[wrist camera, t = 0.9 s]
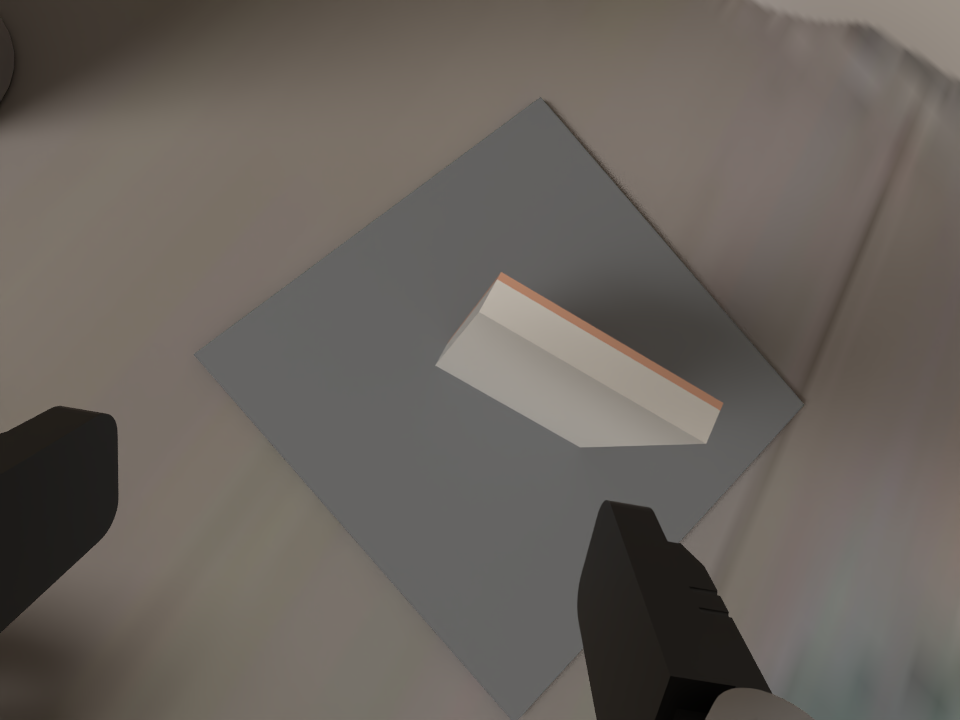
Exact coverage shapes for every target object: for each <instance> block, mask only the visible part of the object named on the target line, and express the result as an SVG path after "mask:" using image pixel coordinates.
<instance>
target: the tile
mask: <svg viewBox="0 0 960 720" xmlns="http://www.w3.org/2000/svg"><path fill="white" fill-rule="evenodd" d="M435 366H437V367H439V368H441V369H442V370H444V371H446V372H448V373H449V374H451V375H453V376H455V377H457V378H458V379H460V380H462V381H464V382H465V383H467V384H469V385H471V386H472V387H474V388H476V389H478V390H479V391H481V392H483V393H485V394H487V395H488V396H490V397H492V398H494V399H495V400H497V401H499V402H501V403H502V404H504V405H506V406H508V407H510V408H511V409H513V410H515V411H517V412H518V413H520V414H522V415H524V416H525V417H527V418H529V419H531V420H533V421H534V422H536V423H538V424H540V425H541V426H543V427H545V428H547V429H548V430H550V431H552V432H554V433H555V434H557V435H559V436H561V437H563V438H564V439H566V440H568V441H570V442H571V443H573V444H575V445H577V446H578V447H614V446H648V445H682V444H706V443H707V441H708V438H709V436H710V434H711V431H712V429H713V427H714V424H715V422H716V419H717V417H718V415H719V412H720V410H721V408H722V405H723V402H721V401H719V400H717V399H716V398H714V397H712V396H711V395H709V394H707V393H706V392H704V391H702V390H700V389H699V388H697V387H695V386H694V385H692V384H690V383H689V382H687V381H685V380H684V379H682V378H680V377H678V376H677V375H675V374H673V373H672V372H670V371H668V370H667V369H665V368H663V367H662V366H660V365H658V364H656V363H655V362H653V361H651V360H650V359H648V358H646V357H645V356H643V355H641V354H639V353H638V352H636V351H634V350H633V349H631V348H629V347H628V346H626V345H624V344H623V343H621V342H619V341H617V340H616V339H614V338H612V337H611V336H609V335H607V334H606V333H604V332H602V331H601V330H599V329H597V328H595V327H594V326H592V325H590V324H589V323H587V322H585V321H584V320H582V319H580V318H578V317H577V316H575V315H573V314H572V313H570V312H568V311H567V310H565V309H563V308H562V307H560V306H558V305H556V304H555V303H553V302H551V301H550V300H548V299H546V298H545V297H543V296H541V295H540V294H538V293H536V292H534V291H533V290H531V289H529V288H528V287H526V286H524V285H523V284H521V283H519V282H517V281H516V280H514V279H512V278H511V277H509V276H507V275H506V274H504V273H502V272H501V273H500V274H499V275H498V277H497V278H496V279H495V281H494V282H493V283H492V285H491V286H490V287H489V289H488V290H487V291H486V293H485V294H484V295H483V296H482V298H481V299H480V300H479V302H478V303H477V304H476V306H475V307H474V308H473V310H472V311H471V312H470V314H469V315H468V316H467V318H466V319H465V320H464V321H463V323H462V324H461V325H460V327H459V328H458V329H457V331H456V332H455V333H454V335H453V336H452V337H451V339H450V340H449V342H448V344H447V345H446V347H445V349H444V351H443V352H442V354H441V356H440V358H439V360H438V361H437V363H436V365H435Z"/></svg>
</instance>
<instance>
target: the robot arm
mask: <svg viewBox="0 0 960 720" xmlns="http://www.w3.org/2000/svg"><path fill="white" fill-rule="evenodd" d="M13 70H14V49H13V45H12V41H11V37H10V34H9V32H8V30H7V28H6V26H5V24H4V23H3V21H2V19H1V17H0V101H1V100H2V98H3V96H4V94H5V93H6V91H7V89H8V87H9V85H10V81H11V78H12V74H13ZM117 506H118V435H117V425H116V422H115V420H114V418H113V417H112V416H111V415H109V414H105V413H99V412H93V411H87V410H82V409H76V408H70V407H64V406H56V407H53V408H51V409H49V410H47V411H45V412H43V413H41V414H39V415H37V416H36V417H34V418H32V419H30V420H28V421H26V422H24V423H22V424H20V425H19V426H17V427H15V428H13V429H11V430H9V431H7V432H4V433H1V434H0V633H1V632H2V631H3V630H4V629H5V628H6V627H7V626H8V625H9V624H10V623H11V622H12V621H14V620H15V619H16V618H17V617H18V616H19V615H20V614H21V613H22V612H23V611H24V610H25V609H26V608H28V607H29V606H30V605H31V604H32V603H33V602H34V601H35V600H36V599H37V598H38V597H39V596H41V595H42V594H43V593H44V592H45V591H46V590H47V589H48V588H49V587H50V586H51V585H52V584H53V583H55V582H56V581H57V580H58V579H59V578H60V577H61V576H62V575H63V574H64V573H65V572H66V571H67V570H69V569H70V568H71V567H72V566H73V565H74V564H75V563H76V562H77V561H78V560H79V559H80V558H81V557H83V556H84V555H85V554H86V553H87V552H88V551H89V550H90V549H91V548H92V547H93V546H94V545H95V544H97V543H98V542H99V541H100V540H101V539H102V538H103V537H104V535H105V534H106V533H107V531H108V529H109V528H110V526H111V524H112V522H113V520H114V517H115V514H116V511H117ZM728 613H729V612H728V610H727V608H726V606H725V604H724V602H723V600H722V599H721V597H720V596H717V589H716V587H715V585H714V584H713V582H712V580H711V578H710V576H709V574H708V572H707V570H706V569H705V567H704V566H703V565H702V564H701V563H700V562H699V561H698V560H697V559H696V558H695V557H694V556H693V555H692V554H691V553H690V552H689V551H688V550H687V549H686V548H685V547H684V546H683V545H682V544H681V543H675V542H669V541H667V539H666V537H665V534H664V532H663V530H662V528H661V526H660V524H659V522H658V520H657V517H656V515H655V513H654V511H653V510H652V509H651V508H650V507H645V506H639V505H633V504H627V503H622V502H616V501H610V500H605V501H604V502H603V503H602V504H601V506H600V509H599V512H598V515H597V518H596V522H595V526H594V529H593V533H592V537H591V540H590V544H589V548H588V551H587V555H586V559H585V562H584V566H583V570H582V573H581V577H580V582H579V587H578V597H577V614H578V622H579V627H580V632H581V638H582V643H583V648H584V654H585V659H586V665H587V670H588V675H589V681H590V686H591V691H592V697H593V702H594V707H595V713H596V718H597V720H815V719H813V718H812V717H811V716H810V715H808V714H807V713H806V712H804V711H803V710H801V709H800V708H798V707H797V706H795V705H794V704H792V703H790V702H788V701H786V700H785V699H783V698H780V697H778V696H776V695H774V694H772V692H771V690H770V689H769V687H768V685H767V683H766V681H765V679H764V677H763V675H762V674H761V672H760V670H759V668H758V666H757V664H756V662H755V660H754V659H753V657H752V655H751V653H750V651H749V649H748V647H747V645H746V644H745V642H744V640H743V638H742V636H741V634H740V632H739V630H738V629H737V627H736V625H735V623H734V621H733V619H732V618H730V617H729V616H728Z"/></svg>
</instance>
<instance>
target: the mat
mask: <svg viewBox="0 0 960 720" xmlns="http://www.w3.org/2000/svg"><path fill="white" fill-rule="evenodd" d="M501 272H502V273H504V274H506V275H507V276H509V277H511V278H512V279H514V280H516V281H517V282H519V283H521V284H523V285H524V286H526V287H528V288H529V289H531V290H533V291H534V292H536V293H538V294H540V295H541V296H543V297H545V298H546V299H548V300H550V301H551V302H553V303H555V304H556V305H558V306H560V307H562V308H563V309H565V310H567V311H568V312H570V313H572V314H573V315H575V316H577V317H578V318H580V319H582V320H584V321H585V322H587V323H589V324H590V325H592V326H594V327H595V328H597V329H599V330H601V331H602V332H604V333H606V334H607V335H609V336H611V337H612V338H614V339H616V340H617V341H619V342H621V343H623V344H624V345H626V346H628V347H629V348H631V349H633V350H634V351H636V352H638V353H639V354H641V355H643V356H645V357H646V358H648V359H650V360H651V361H653V362H655V363H656V364H658V365H660V366H662V367H663V368H665V369H667V370H668V371H670V372H672V373H673V374H675V375H677V376H678V377H680V378H682V379H684V380H685V381H687V382H689V383H690V384H692V385H694V386H695V387H697V388H699V389H700V390H702V391H704V392H706V393H707V394H709V395H711V396H712V397H714V398H716V399H717V400H719V401H721V402H723V405H722V408H721V410H720V412H719V415H718V417H717V419H716V422H715V424H714V427H713V429H712V431H711V434H710V436H709V438H708V441H707V443H706V444H682V445H648V446H614V447H578V446H577V445H575V444H573V443H571V442H570V441H568V440H566V439H564V438H563V437H561V436H559V435H557V434H555V433H554V432H552V431H550V430H548V429H547V428H545V427H543V426H541V425H540V424H538V423H536V422H534V421H533V420H531V419H529V418H527V417H525V416H524V415H522V414H520V413H518V412H517V411H515V410H513V409H511V408H510V407H508V406H506V405H504V404H502V403H501V402H499V401H497V400H495V399H494V398H492V397H490V396H488V395H487V394H485V393H483V392H481V391H479V390H478V389H476V388H474V387H472V386H471V385H469V384H467V383H465V382H464V381H462V380H460V379H458V378H457V377H455V376H453V375H451V374H449V373H448V372H446V371H444V370H442V369H441V368H439V367H437V366H435V365H436V363H437V361H438V360H439V358H440V356H441V354H442V352H443V351H444V349H445V347H446V345H447V344H448V342H449V340H450V339H451V337H452V336H453V335H454V333H455V332H456V331H457V329H458V328H459V327H460V325H461V324H462V323H463V321H464V320H465V319H466V318H467V316H468V315H469V314H470V312H471V311H472V310H473V308H474V307H475V306H476V304H477V303H478V302H479V300H480V299H481V298H482V296H483V295H484V294H485V293H486V291H487V290H488V289H489V287H490V286H491V285H492V283H493V282H494V281H495V279H496V278H497V277H498V275H499V274H500V273H501ZM194 356H195V357H196V358H197V359H198V360H199V361H200V362H201V364H202V365H203V366H204V367H205V368H206V369H207V371H208V372H209V373H210V374H211V375H212V376H213V377H214V379H215V380H216V381H217V382H218V383H219V384H220V385H221V387H222V388H223V389H224V390H225V391H226V392H227V394H228V395H229V396H230V397H231V398H232V399H233V400H234V402H235V403H236V404H237V405H238V406H239V407H240V408H241V410H242V411H243V412H244V413H245V414H246V415H247V417H248V418H249V419H250V420H251V421H252V422H253V423H254V425H255V426H256V427H257V428H258V429H259V430H260V431H261V433H262V434H263V435H264V436H265V437H266V438H267V440H268V441H269V442H270V443H271V444H272V445H273V446H274V448H275V449H276V450H277V451H278V452H279V453H280V454H281V456H282V457H283V458H284V459H285V460H286V461H287V463H288V464H289V465H290V466H291V467H292V468H293V469H294V471H295V472H296V473H297V474H298V475H299V476H300V477H301V479H302V480H303V481H304V482H305V483H306V484H307V486H308V487H309V488H310V489H311V490H312V491H313V492H314V494H315V495H316V496H317V497H318V498H319V499H320V500H321V502H322V503H323V504H324V505H325V506H326V507H327V509H328V510H329V511H330V512H331V513H332V514H333V515H334V517H335V518H336V519H337V520H338V521H339V522H340V523H341V525H342V526H343V527H344V528H345V529H346V530H347V532H348V533H349V534H350V535H351V536H352V537H353V538H354V540H355V541H356V542H357V543H358V544H359V545H360V546H361V548H362V549H363V550H364V551H365V552H366V553H367V555H368V556H369V557H370V558H371V559H372V560H373V561H374V563H375V564H376V565H377V566H378V567H379V568H380V569H381V571H382V572H383V573H384V574H385V575H386V576H387V578H388V579H389V580H390V581H391V582H392V583H393V584H394V586H395V587H396V588H397V589H398V590H399V591H400V592H401V594H402V595H403V596H404V597H405V598H406V599H407V601H408V602H409V603H410V604H411V605H412V606H413V607H414V609H415V610H416V611H417V612H418V613H419V614H420V615H421V617H422V618H423V619H424V620H425V621H426V622H427V624H428V625H429V626H430V627H431V628H432V629H433V630H434V632H435V633H436V634H437V635H438V636H439V637H440V638H441V640H442V641H443V642H444V643H445V644H446V645H447V647H448V648H449V649H450V650H451V651H452V652H453V653H454V655H455V656H456V657H457V658H458V659H459V660H460V661H461V663H462V664H463V665H464V666H465V667H466V668H467V670H468V671H469V672H470V673H471V674H472V675H473V676H474V678H475V679H476V680H477V681H478V682H479V683H480V684H481V686H482V687H483V688H484V689H485V690H486V691H487V693H488V694H489V695H490V696H491V697H492V698H493V699H494V701H495V702H496V703H497V704H498V705H499V706H500V707H501V709H502V710H503V711H504V712H505V713H506V714H507V716H508V717H509V718H510V719H511V720H518V719H519V718H520V717H521V716H522V715H523V714H524V713H525V711H526V710H527V709H528V708H529V707H530V706H531V705H532V704H533V703H534V702H535V700H536V699H537V698H538V697H539V696H540V695H541V694H542V693H543V692H544V691H545V689H546V688H547V687H548V686H549V685H550V684H551V683H552V682H553V681H554V680H555V678H556V677H557V676H558V675H559V674H560V673H561V672H562V671H563V670H564V669H565V667H566V666H567V665H568V664H569V663H570V662H571V661H572V660H573V659H574V658H575V656H576V655H577V654H578V653H579V652H580V651H581V650H582V649H583V643H582V638H581V632H580V627H579V622H578V614H577V597H578V587H579V582H580V577H581V573H582V570H583V566H584V562H585V559H586V555H587V551H588V548H589V544H590V540H591V537H592V533H593V529H594V526H595V522H596V518H597V515H598V512H599V509H600V506H601V504H602V503H603V502H604V501H605V500H610V501H616V502H622V503H627V504H633V505H639V506H645V507H650V508H651V509H652V510H653V511H654V513H655V515H656V517H657V520H658V522H659V524H660V526H661V528H662V530H663V532H664V534H665V537H666V539H667V541H669V542H675V543H679V542H680V541H681V540H682V539H683V538H684V536H685V535H686V534H687V533H688V532H689V531H690V530H691V529H692V528H693V527H694V525H695V524H696V523H697V522H698V521H699V520H700V519H701V518H702V517H703V516H704V514H705V513H706V512H707V511H708V510H709V509H710V508H711V507H712V506H713V505H714V503H715V502H716V501H717V500H718V499H719V498H720V497H721V496H722V495H723V494H724V492H725V491H726V490H727V489H728V488H729V487H730V486H731V485H732V484H733V483H734V481H735V480H736V479H737V478H738V477H739V476H740V475H741V474H742V473H743V472H744V470H745V469H746V468H747V467H748V466H749V465H750V464H751V463H752V462H753V461H754V459H755V458H756V457H757V456H758V455H759V454H760V453H761V452H762V451H763V450H764V448H765V447H766V446H767V445H768V444H769V443H770V442H771V441H772V440H773V439H774V437H775V436H776V435H777V434H778V433H779V432H780V431H781V430H782V429H783V428H784V426H785V425H786V424H787V423H788V422H789V421H790V420H791V419H792V418H793V417H794V415H795V414H796V413H797V412H798V411H799V410H800V409H801V408H802V407H803V406H804V404H803V403H802V401H801V400H800V399H799V398H798V397H797V396H796V394H795V393H794V392H793V391H792V390H791V389H790V387H789V386H788V385H787V384H786V383H785V382H784V380H783V379H782V378H781V377H780V376H779V375H778V373H777V372H776V371H775V370H774V369H773V368H772V366H771V365H770V364H769V363H768V362H767V361H766V359H765V358H764V357H763V356H762V355H761V354H760V352H759V351H758V350H757V349H756V348H755V347H754V345H753V344H752V343H751V342H750V341H749V340H748V338H747V337H746V336H745V335H744V334H743V333H742V331H741V330H740V329H739V328H738V327H737V326H736V324H735V323H734V322H733V321H732V320H731V319H730V317H729V316H728V315H727V314H726V313H725V312H724V310H723V309H722V308H721V307H720V306H719V305H718V303H717V302H716V301H715V300H714V299H713V298H712V296H711V295H710V294H709V293H708V292H707V291H706V289H705V288H704V287H703V286H702V285H701V284H700V282H699V281H698V280H697V279H696V278H695V277H694V275H693V274H692V273H691V272H690V271H689V270H688V268H687V267H686V266H685V265H684V264H683V263H682V261H681V260H680V259H679V258H678V257H677V256H676V254H675V253H674V252H673V251H672V250H671V249H670V247H669V246H668V245H667V244H666V243H665V242H664V240H663V239H662V238H661V237H660V236H659V235H658V233H657V232H656V231H655V230H654V229H653V228H652V226H651V225H650V224H649V223H648V222H647V221H646V219H645V218H644V217H643V216H642V215H641V214H640V212H639V211H638V210H637V209H636V208H635V207H634V205H633V204H632V203H631V202H630V201H629V200H628V198H627V197H626V196H625V195H624V194H623V193H622V191H621V190H620V189H619V188H618V187H617V186H616V184H615V183H614V182H613V181H612V180H611V179H610V177H609V176H608V175H607V174H606V173H605V172H604V170H603V169H602V168H601V167H600V166H599V165H598V163H597V162H596V161H595V160H594V159H593V158H592V156H591V155H590V154H589V153H588V152H587V151H586V150H585V148H584V147H583V146H582V145H581V144H580V143H579V141H578V140H577V139H576V138H575V137H574V136H573V134H572V133H571V132H570V131H569V130H568V129H567V127H566V126H565V125H564V124H563V123H562V122H561V120H560V119H559V118H558V117H557V116H556V115H555V113H554V112H553V111H552V110H551V109H550V108H549V106H548V105H547V104H546V103H545V102H544V101H543V99H542V98H541V97H540V98H539V99H537V100H536V101H535V102H533V103H532V104H530V105H529V106H528V107H526V108H525V109H524V110H522V111H521V112H520V113H518V114H517V115H516V116H514V117H513V118H512V119H510V120H509V121H508V122H506V123H505V124H504V125H502V126H501V127H499V128H498V129H497V130H495V131H494V132H493V133H491V134H490V135H489V136H487V137H486V138H485V139H483V140H482V141H481V142H479V143H478V144H477V145H475V146H474V147H473V148H471V149H470V150H468V151H467V152H466V153H464V154H463V155H462V156H460V157H459V158H458V159H456V160H455V161H454V162H452V163H451V164H450V165H448V166H447V167H446V168H444V169H443V170H441V171H440V172H439V173H437V174H436V175H435V176H433V177H432V178H431V179H429V180H428V181H427V182H425V183H424V184H423V185H421V186H420V187H419V188H417V189H416V190H415V191H413V192H412V193H410V194H409V195H408V196H406V197H405V198H404V199H402V200H401V201H400V202H398V203H397V204H396V205H394V206H393V207H392V208H390V209H389V210H388V211H386V212H385V213H384V214H382V215H381V216H379V217H378V218H377V219H375V220H374V221H373V222H371V223H370V224H369V225H367V226H366V227H365V228H363V229H362V230H361V231H359V232H358V233H357V234H355V235H354V236H352V237H351V238H350V239H348V240H347V241H346V242H344V243H343V244H342V245H340V246H339V247H338V248H336V249H335V250H334V251H332V252H331V253H330V254H328V255H327V256H326V257H324V258H323V259H321V260H320V261H319V262H317V263H316V264H315V265H313V266H312V267H311V268H309V269H308V270H307V271H305V272H304V273H303V274H301V275H300V276H299V277H297V278H296V279H295V280H293V281H292V282H290V283H289V284H288V285H286V286H285V287H284V288H282V289H281V290H280V291H278V292H277V293H276V294H274V295H273V296H272V297H270V298H269V299H268V300H266V301H265V302H263V303H262V304H261V305H259V306H258V307H257V308H255V309H254V310H253V311H251V312H250V313H249V314H247V315H246V316H245V317H243V318H242V319H241V320H239V321H238V322H237V323H235V324H234V325H232V326H231V327H230V328H228V329H227V330H226V331H224V332H223V333H222V334H220V335H219V336H218V337H216V338H215V339H214V340H212V341H211V342H210V343H208V344H207V345H206V346H204V347H203V348H201V349H200V350H199V351H197V352H196V353H195V354H194Z"/></svg>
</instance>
